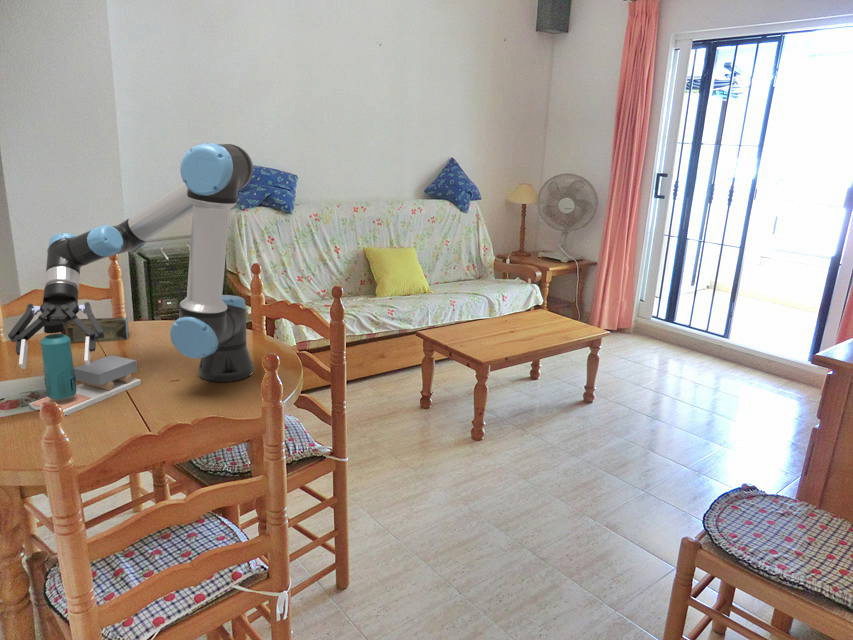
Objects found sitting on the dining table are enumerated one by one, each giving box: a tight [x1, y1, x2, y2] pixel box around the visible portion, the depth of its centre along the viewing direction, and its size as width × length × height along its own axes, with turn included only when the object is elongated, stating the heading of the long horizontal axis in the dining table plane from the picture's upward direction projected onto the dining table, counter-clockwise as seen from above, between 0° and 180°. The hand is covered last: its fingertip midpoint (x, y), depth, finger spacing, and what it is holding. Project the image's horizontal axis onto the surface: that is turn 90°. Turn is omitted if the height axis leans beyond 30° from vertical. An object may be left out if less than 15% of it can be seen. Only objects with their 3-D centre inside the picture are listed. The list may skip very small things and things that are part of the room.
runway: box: [28, 373, 142, 417], centre depth 158 cm, size 11×24×4 cm, turn 159°
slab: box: [74, 354, 138, 385], centre depth 162 cm, size 9×12×3 cm
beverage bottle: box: [40, 321, 77, 399], centre depth 148 cm, size 6×7×20 cm
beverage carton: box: [60, 317, 130, 344], centre depth 201 cm, size 8×19×7 cm, turn 112°
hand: (55, 364), depth 146 cm, fingers open, 13 cm apart
